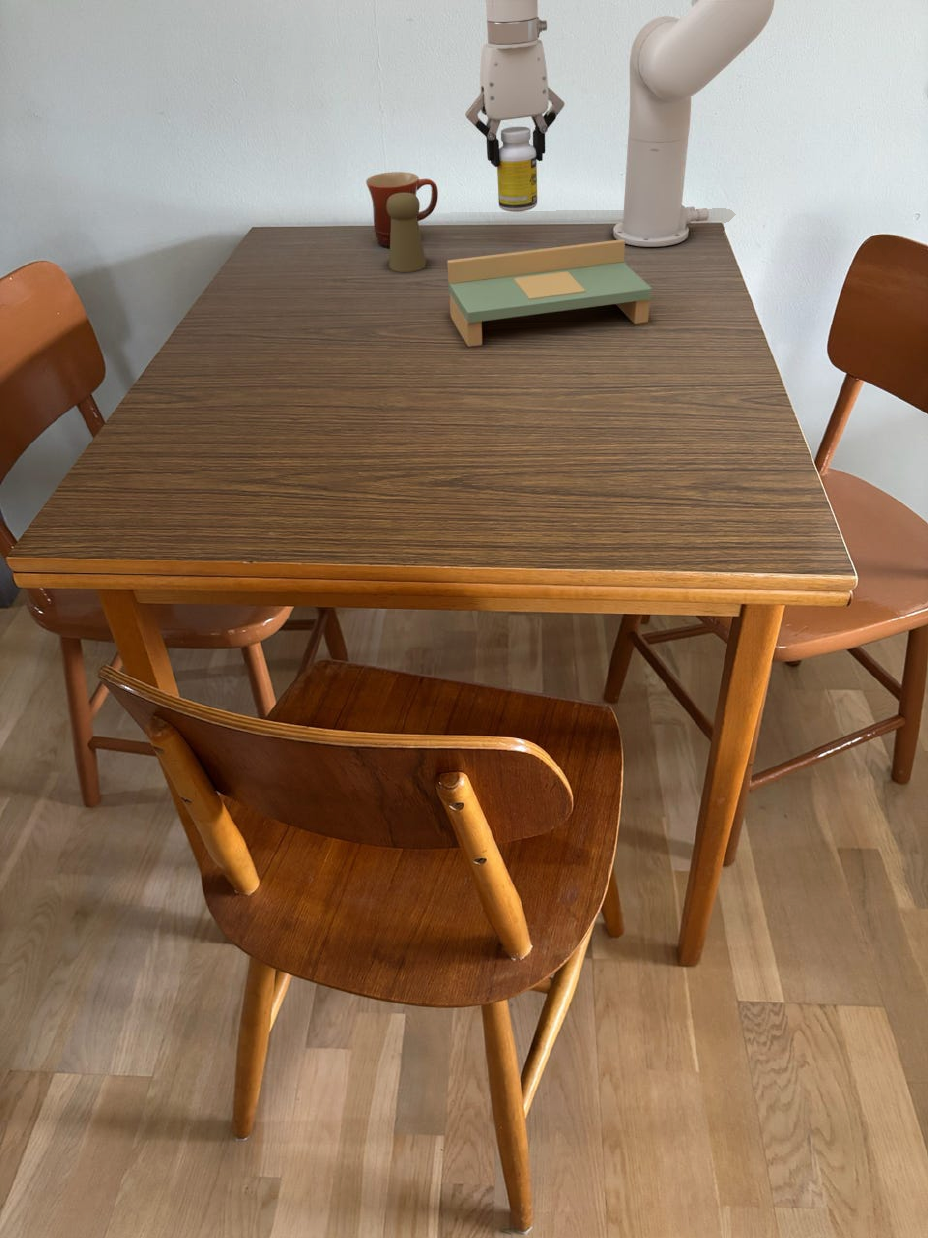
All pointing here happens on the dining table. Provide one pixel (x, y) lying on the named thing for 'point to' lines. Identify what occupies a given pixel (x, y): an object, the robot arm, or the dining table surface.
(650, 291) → the shelf
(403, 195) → the pepper shaker
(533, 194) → the pill bottle
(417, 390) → the dining table surface
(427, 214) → the mug
